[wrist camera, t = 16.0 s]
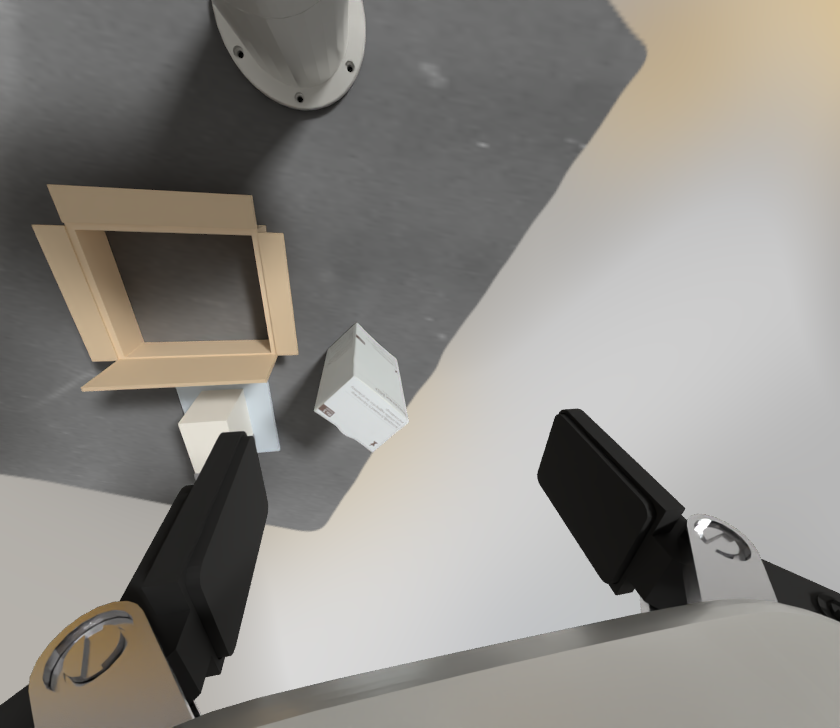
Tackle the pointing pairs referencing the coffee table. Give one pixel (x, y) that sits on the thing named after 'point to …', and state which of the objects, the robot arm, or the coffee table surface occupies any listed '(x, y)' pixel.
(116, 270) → the carton
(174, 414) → the coffee table surface
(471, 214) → the coffee table surface
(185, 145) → the coffee table surface
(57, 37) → the coffee table surface
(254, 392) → the felt mat
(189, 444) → the box
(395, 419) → the skincare box
